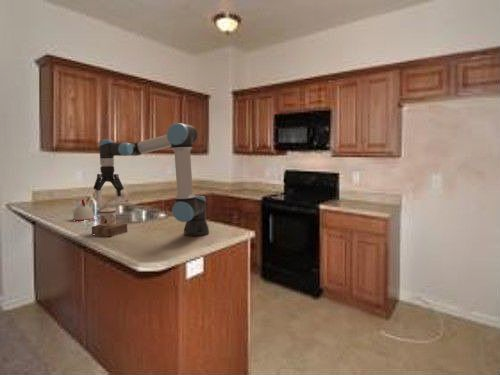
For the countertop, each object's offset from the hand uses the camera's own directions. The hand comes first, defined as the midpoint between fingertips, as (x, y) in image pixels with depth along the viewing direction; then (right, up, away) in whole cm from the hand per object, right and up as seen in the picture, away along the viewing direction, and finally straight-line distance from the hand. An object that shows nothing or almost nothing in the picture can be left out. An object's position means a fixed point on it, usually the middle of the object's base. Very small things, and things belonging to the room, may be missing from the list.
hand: (109, 201), depth 198 cm
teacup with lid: (0, -15, +2) cm, 15 cm away
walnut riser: (0, -19, +2) cm, 20 cm away
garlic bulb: (-36, -16, +42) cm, 57 cm away
